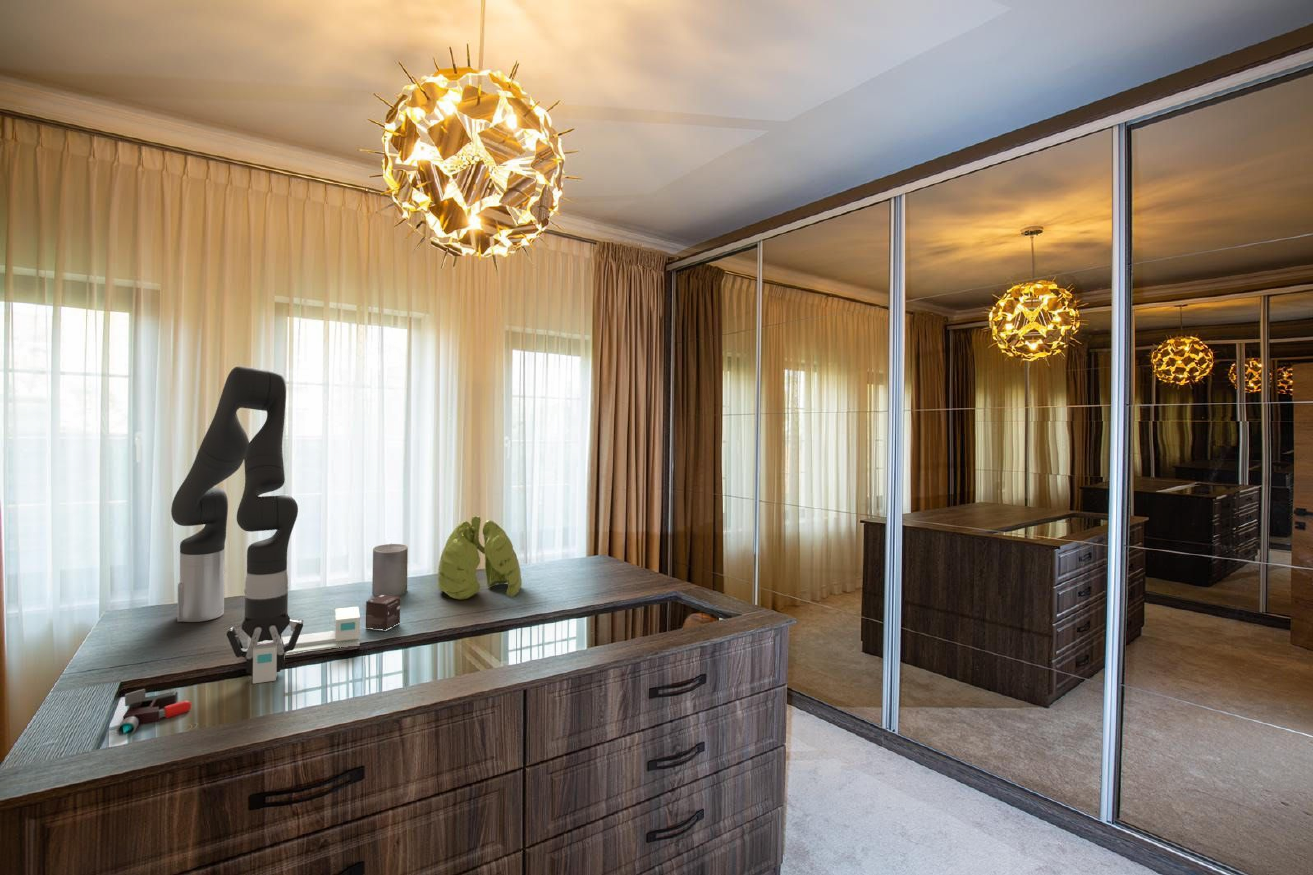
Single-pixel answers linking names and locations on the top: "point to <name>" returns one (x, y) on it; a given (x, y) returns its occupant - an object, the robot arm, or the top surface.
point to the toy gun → (150, 709)
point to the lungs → (477, 560)
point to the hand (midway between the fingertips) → (265, 672)
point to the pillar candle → (390, 570)
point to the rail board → (331, 633)
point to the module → (264, 662)
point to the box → (382, 612)
